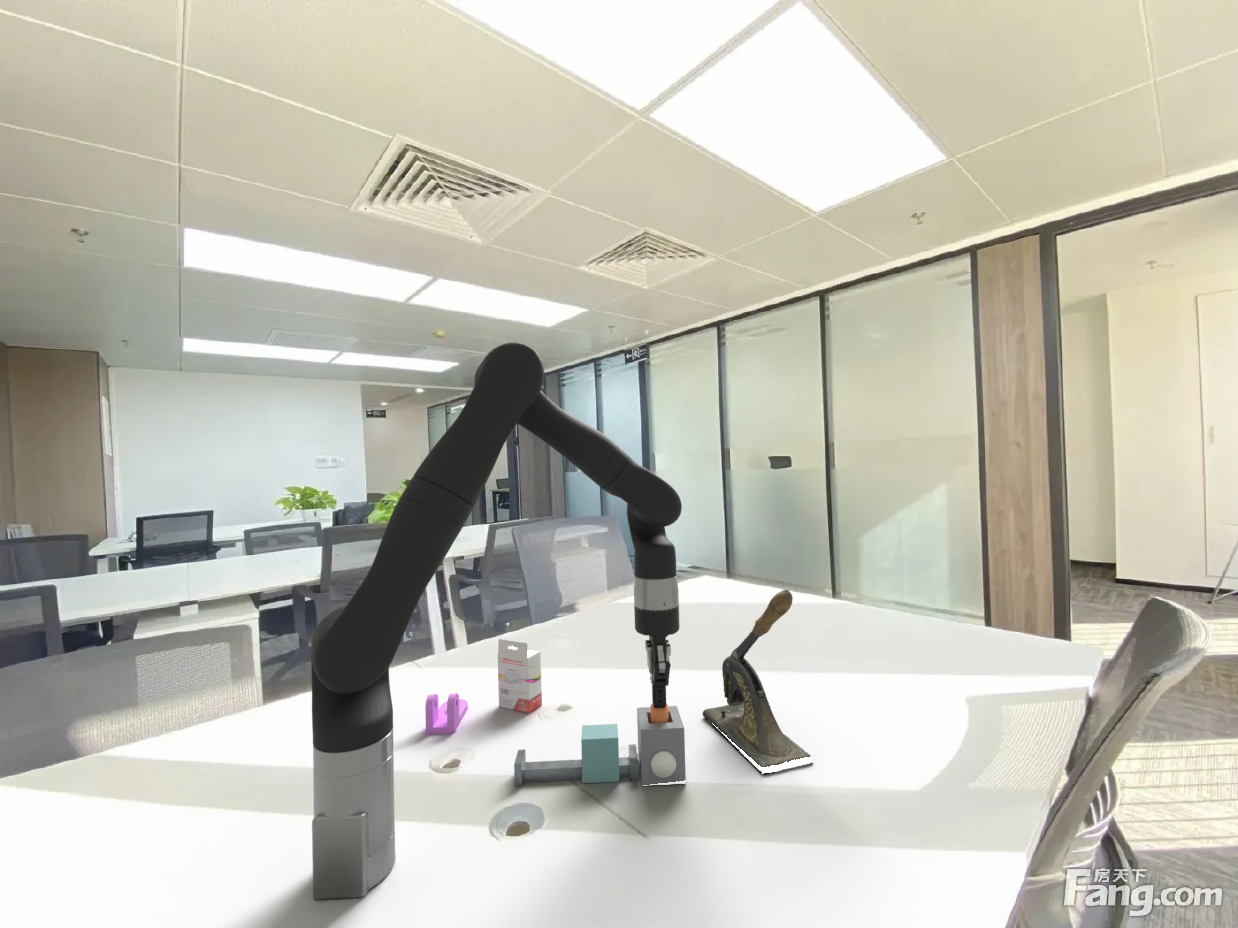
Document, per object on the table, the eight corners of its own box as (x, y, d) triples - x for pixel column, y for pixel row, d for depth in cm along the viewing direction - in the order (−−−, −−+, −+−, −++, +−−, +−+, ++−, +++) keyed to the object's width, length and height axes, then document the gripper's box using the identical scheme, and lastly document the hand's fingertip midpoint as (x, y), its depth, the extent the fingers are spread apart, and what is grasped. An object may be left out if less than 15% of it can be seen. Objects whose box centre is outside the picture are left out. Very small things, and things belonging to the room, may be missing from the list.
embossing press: (749, 709, 110) (744, 566, 111) (819, 769, 88) (813, 588, 88) (700, 716, 108) (696, 569, 108) (761, 780, 85) (755, 594, 85)
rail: (638, 780, 86) (637, 757, 86) (514, 786, 85) (514, 763, 85) (636, 765, 90) (635, 744, 90) (518, 771, 89) (518, 749, 89)
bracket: (454, 733, 103) (454, 697, 103) (425, 734, 103) (425, 699, 103) (470, 704, 116) (469, 673, 116) (444, 706, 116) (444, 674, 116)
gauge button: (670, 736, 87) (669, 709, 87) (652, 737, 86) (651, 710, 87) (667, 727, 90) (666, 701, 90) (650, 728, 90) (649, 702, 90)
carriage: (619, 781, 85) (618, 737, 85) (582, 783, 85) (581, 739, 85) (618, 765, 90) (617, 723, 90) (583, 766, 90) (582, 725, 90)
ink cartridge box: (543, 704, 115) (541, 637, 115) (529, 714, 111) (527, 643, 111) (512, 698, 119) (510, 632, 119) (497, 706, 115) (496, 638, 115)
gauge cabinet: (686, 785, 84) (684, 728, 84) (642, 788, 83) (640, 730, 84) (678, 757, 92) (676, 705, 92) (638, 759, 92) (636, 707, 92)
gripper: (685, 611, 82) (688, 723, 82) (672, 592, 95) (675, 689, 95) (637, 613, 82) (640, 725, 81) (631, 594, 95) (634, 690, 95)
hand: (659, 705), depth 88 cm, fingers closed
